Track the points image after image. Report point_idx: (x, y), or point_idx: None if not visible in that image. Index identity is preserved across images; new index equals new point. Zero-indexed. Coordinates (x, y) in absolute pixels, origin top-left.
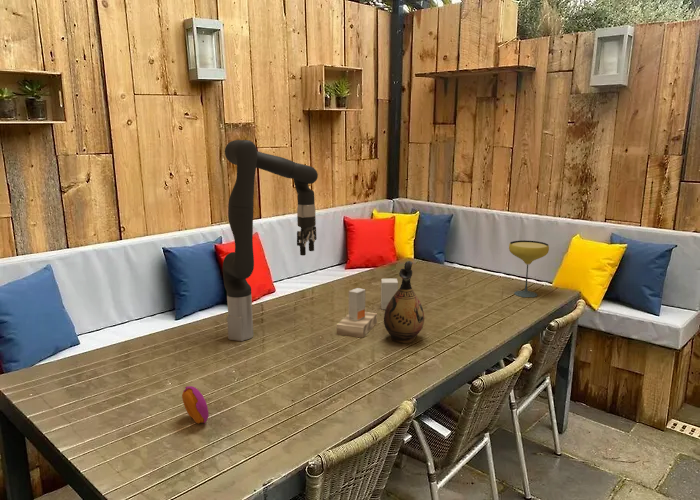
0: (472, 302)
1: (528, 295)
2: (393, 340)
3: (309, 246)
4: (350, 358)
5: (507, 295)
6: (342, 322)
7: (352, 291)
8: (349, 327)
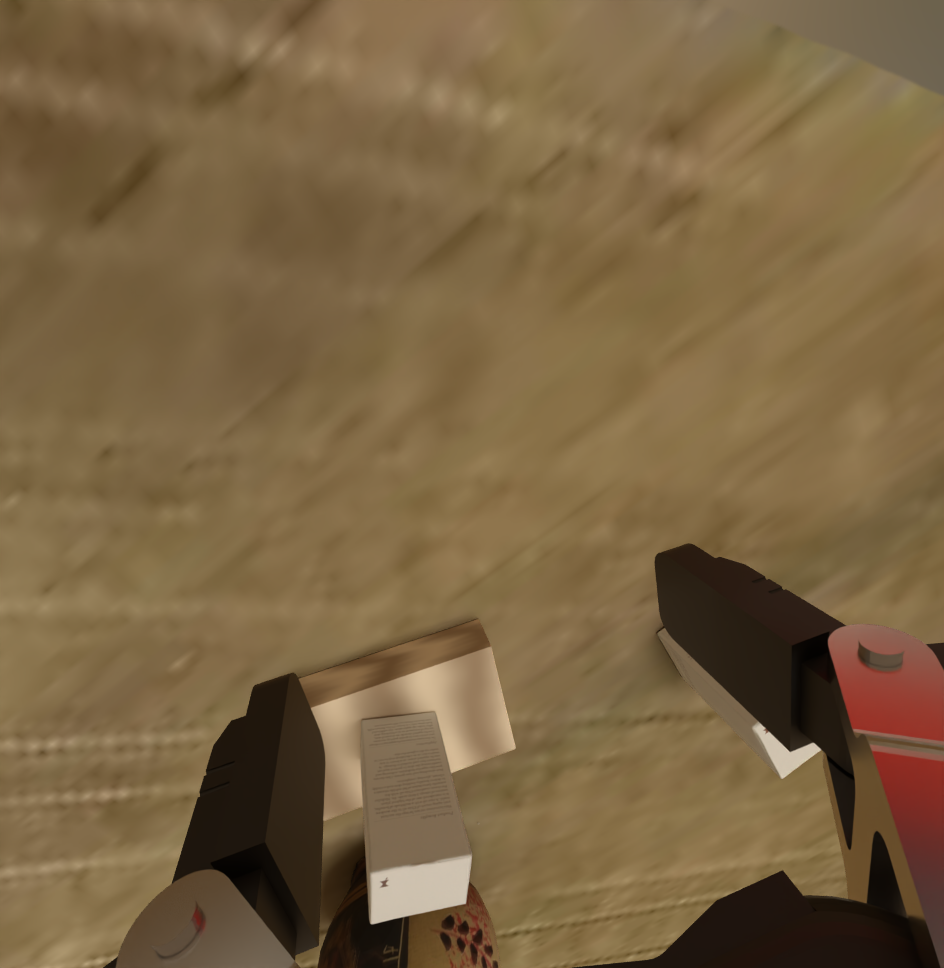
0: None
1: None
2: (353, 877)
3: (713, 607)
4: (80, 892)
5: None
6: None
7: (376, 894)
8: None
